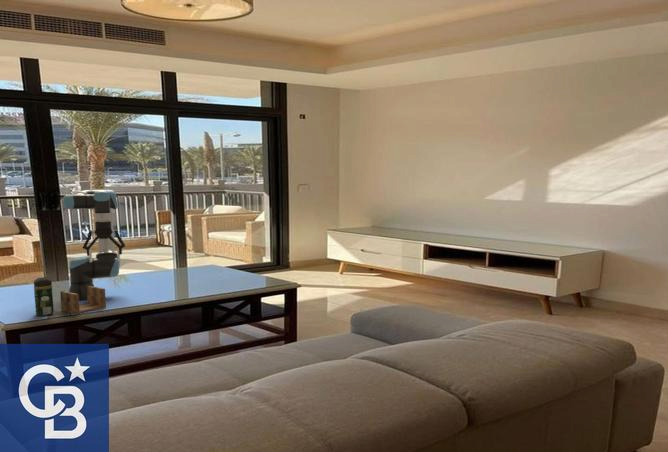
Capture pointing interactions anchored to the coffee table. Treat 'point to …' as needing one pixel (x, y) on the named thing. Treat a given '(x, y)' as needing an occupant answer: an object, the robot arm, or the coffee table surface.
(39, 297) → the coffee jar
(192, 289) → the coffee table surface
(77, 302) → the holder
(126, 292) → the coffee table surface
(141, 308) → the coffee table surface
